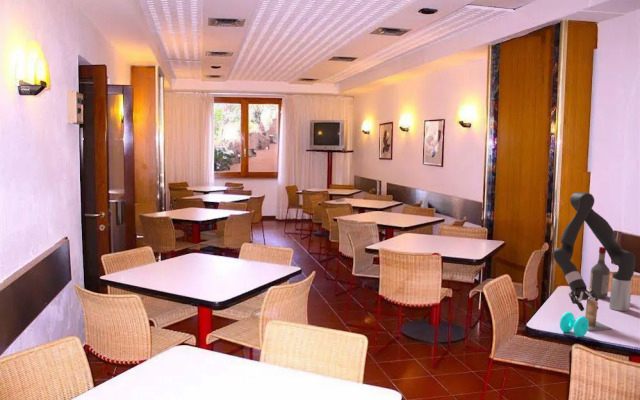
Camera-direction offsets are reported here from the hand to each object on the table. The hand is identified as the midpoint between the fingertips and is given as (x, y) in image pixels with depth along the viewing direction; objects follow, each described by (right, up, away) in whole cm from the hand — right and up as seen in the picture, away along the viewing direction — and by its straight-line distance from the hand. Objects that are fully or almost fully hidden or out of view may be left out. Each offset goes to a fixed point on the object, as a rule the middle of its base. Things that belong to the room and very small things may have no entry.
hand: (589, 310), depth 277 cm
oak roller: (0, -7, 0) cm, 7 cm away
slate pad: (0, -8, 0) cm, 8 cm away
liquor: (+31, -3, +54) cm, 62 cm away
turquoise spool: (-15, -9, -14) cm, 22 cm away
